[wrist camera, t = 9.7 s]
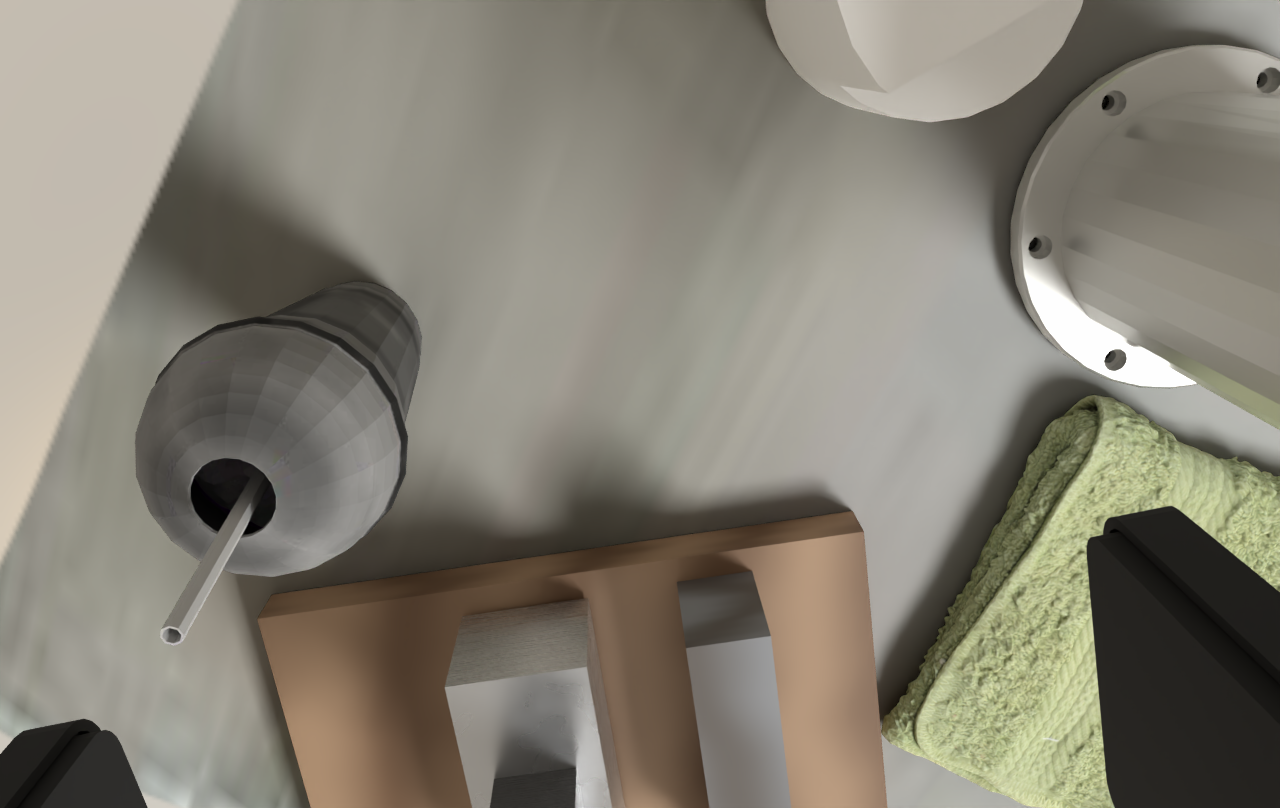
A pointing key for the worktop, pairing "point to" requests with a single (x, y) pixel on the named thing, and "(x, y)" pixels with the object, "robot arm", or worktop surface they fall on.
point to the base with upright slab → (920, 50)
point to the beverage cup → (279, 437)
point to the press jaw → (533, 710)
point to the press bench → (609, 670)
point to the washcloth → (1063, 604)
